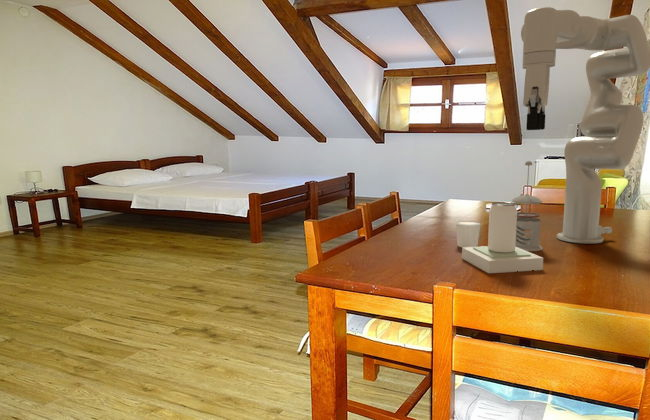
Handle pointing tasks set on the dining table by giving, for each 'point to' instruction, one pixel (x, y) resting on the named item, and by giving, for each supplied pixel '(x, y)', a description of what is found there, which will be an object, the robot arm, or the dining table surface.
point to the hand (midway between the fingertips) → (535, 129)
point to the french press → (527, 223)
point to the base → (502, 260)
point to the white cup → (467, 233)
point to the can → (502, 227)
